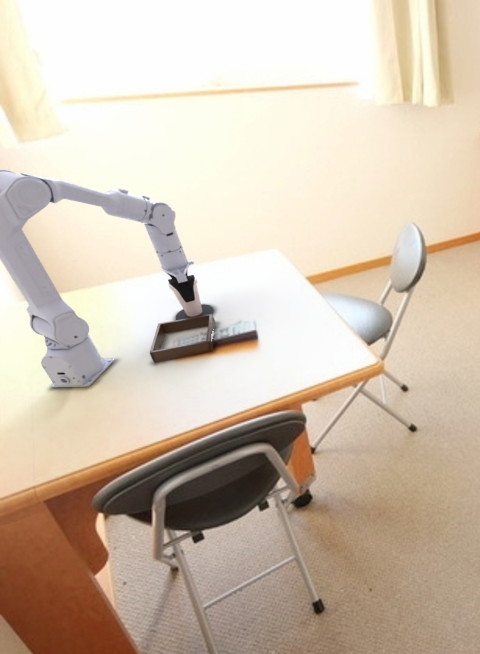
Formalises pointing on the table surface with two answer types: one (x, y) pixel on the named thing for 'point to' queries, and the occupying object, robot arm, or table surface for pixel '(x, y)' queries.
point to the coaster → (205, 311)
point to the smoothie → (189, 307)
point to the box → (182, 350)
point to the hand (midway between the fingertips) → (187, 295)
